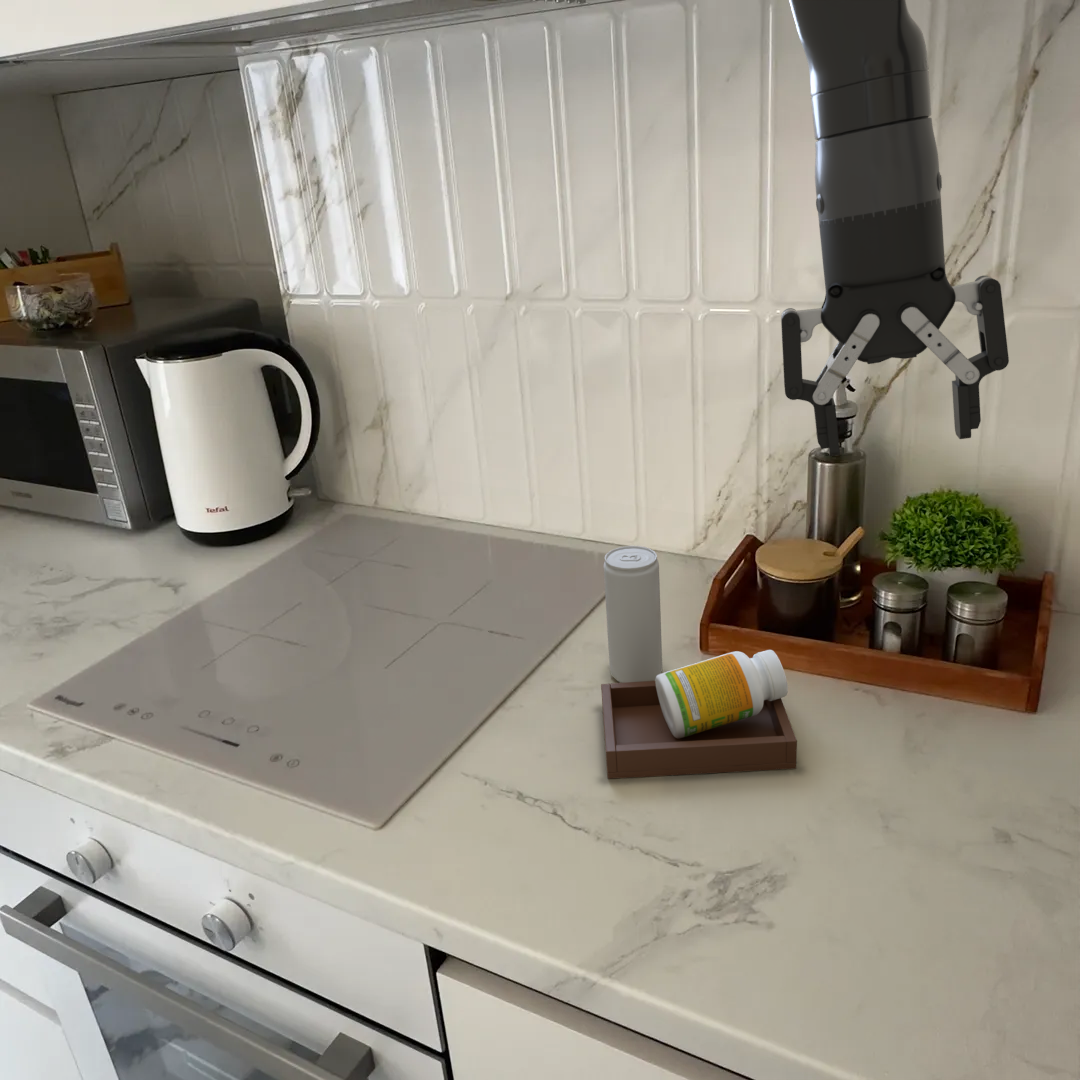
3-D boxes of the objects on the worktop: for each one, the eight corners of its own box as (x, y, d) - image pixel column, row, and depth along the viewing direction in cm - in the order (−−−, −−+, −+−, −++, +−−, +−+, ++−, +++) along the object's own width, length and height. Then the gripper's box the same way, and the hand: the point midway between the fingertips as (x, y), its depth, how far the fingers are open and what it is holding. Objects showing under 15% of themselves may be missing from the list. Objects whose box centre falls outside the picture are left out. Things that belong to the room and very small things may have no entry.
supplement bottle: (681, 743, 76) (798, 706, 76) (660, 676, 76) (777, 640, 77) (669, 736, 81) (779, 702, 82) (650, 674, 82) (759, 641, 82)
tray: (771, 699, 84) (772, 673, 83) (796, 768, 75) (797, 741, 74) (602, 709, 85) (600, 683, 84) (607, 779, 76) (605, 751, 75)
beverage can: (661, 689, 87) (657, 568, 82) (607, 688, 88) (600, 569, 83) (663, 660, 91) (659, 544, 86) (612, 660, 92) (605, 545, 87)
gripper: (984, 181, 65) (996, 418, 70) (765, 222, 68) (791, 445, 73) (1010, 181, 58) (1021, 444, 63) (765, 227, 62) (793, 472, 66)
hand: (897, 444), depth 68 cm, fingers open, 8 cm apart
